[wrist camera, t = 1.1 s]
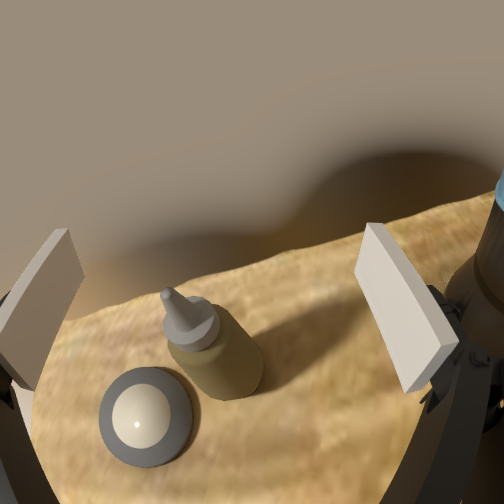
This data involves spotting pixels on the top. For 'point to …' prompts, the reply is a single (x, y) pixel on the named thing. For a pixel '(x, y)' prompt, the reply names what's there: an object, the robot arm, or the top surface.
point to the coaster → (146, 417)
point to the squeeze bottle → (211, 346)
